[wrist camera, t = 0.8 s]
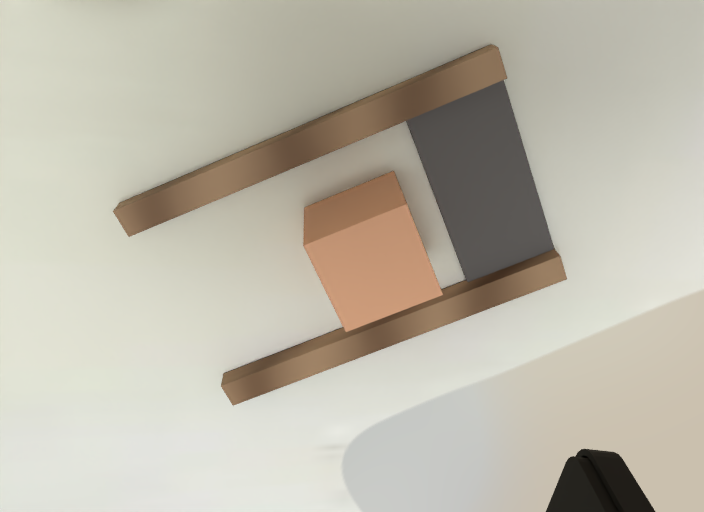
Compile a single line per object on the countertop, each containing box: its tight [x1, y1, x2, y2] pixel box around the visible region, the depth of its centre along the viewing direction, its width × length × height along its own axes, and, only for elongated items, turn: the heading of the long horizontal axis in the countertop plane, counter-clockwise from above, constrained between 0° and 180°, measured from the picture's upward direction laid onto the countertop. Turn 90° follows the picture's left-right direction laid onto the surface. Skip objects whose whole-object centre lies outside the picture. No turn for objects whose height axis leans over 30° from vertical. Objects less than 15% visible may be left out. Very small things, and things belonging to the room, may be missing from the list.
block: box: [303, 171, 443, 332], centre depth 32 cm, size 5×5×5 cm
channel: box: [113, 44, 567, 405], centre depth 34 cm, size 20×13×1 cm, turn 112°
